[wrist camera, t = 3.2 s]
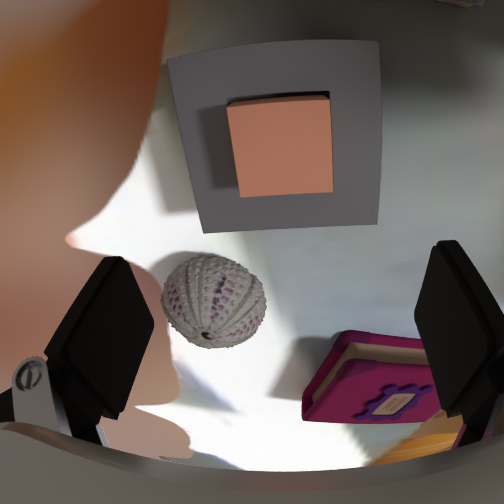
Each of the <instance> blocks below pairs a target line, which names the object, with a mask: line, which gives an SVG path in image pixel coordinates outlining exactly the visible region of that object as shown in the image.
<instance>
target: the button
mask: <svg viewBox="0 0 504 504" xmlns="http://www.w3.org/2000/svg"><path fill="white" fill-rule="evenodd" d="M227 114H228V120H229V127H230V133H231V140H232V146H233V152H234V159H235V165H236V172H237V178H238V184H239V191H240V197H241V198H242V197H255V196H270V195H286V194H304V193H325V192H333V165H332V135H331V115H330V100H329V99H328V98H327V97H326V96H325V95H309V96H290V97H276V98H264V99H254V100H245V101H236V102H232V103H231V104H230V105H229V106H228V107H227Z"/></svg>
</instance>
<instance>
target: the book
mask: <svg viewBox="0 0 504 504" xmlns="http://www.w3.org/2000/svg"><path fill="white" fill-rule="evenodd" d="M441 409H442V408H441V406H440V402H439V398H438V395H437V391H436V387H435V383H434V380H433V376H432V373H431V369H430V366H429V363H428V359H427V356H426V353H425V350H424V347H423V344H422V340H421V339H415V338H406V337H398V336H389V335H381V334H374V333H370V332H363V331H356V330H346V331H344V332H342V333H341V334H340V335H339V337H338V338H337V340H336V342H335V343H334V345H333V348H332V350H331V351H330V353H329V355H328V356H327V358H326V359H325V361H324V362H323V364H322V365H321V367H320V368H319V370H318V371H317V373H316V374H315V376H314V377H313V379H312V380H311V382H310V383H309V385H308V386H307V388H306V389H305V391H304V392H303V396H302V420H303V421H312V422H327V423H352V424H391V423H414V422H426V421H427V420H428V419H429V418H431V417H432V416H433V415H435V414H436V413H437V412H438V411H440V410H441Z"/></svg>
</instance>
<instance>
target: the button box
mask: <svg viewBox="0 0 504 504" xmlns="http://www.w3.org/2000/svg"><path fill="white" fill-rule="evenodd" d="M167 64H168V69H169V75H170V80H171V86H172V91H173V96H174V102H175V107H176V112H177V117H178V122H179V127H180V132H181V137H182V141H183V146H184V151H185V156H186V160H187V165H188V170H189V174H190V179H191V183H192V188H193V192H194V196H195V201H196V205H197V209H198V214H199V218H200V222H201V226H202V230H203V234H204V233H219V232H235V231H252V230H269V229H287V228H307V227H327V226H350V225H375V224H377V220H378V209H379V196H380V180H381V157H382V90H381V69H380V54H379V42H378V41H366V40H337V39H322V40H292V41H277V42H266V43H256V44H248V45H240V46H233V47H226V48H220V49H214V50H208V51H203V52H198V53H193V54H188V55H184V56H179V57H175V58H171V59H167ZM309 95H325V96H326V97H327V98H328V99H329V100H330V115H331V135H332V165H333V192H325V193H304V194H286V195H270V196H255V197H242V198H241V197H240V191H239V184H238V178H237V172H236V165H235V159H234V152H233V146H232V140H231V133H230V127H229V120H228V114H227V107H228V106H229V105H230V104H231V103H232V102H236V101H245V100H254V99H264V98H276V97H290V96H309Z"/></svg>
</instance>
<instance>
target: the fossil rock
mask: <svg viewBox="0 0 504 504" xmlns="http://www.w3.org/2000/svg"><path fill="white" fill-rule="evenodd" d="M436 1H441V2H445V3H449V4H453V5H458V6H460V7H463V8H467V7H470V6H474V5H479V6H483V4H484V3H485V2H486V1H487V0H436Z"/></svg>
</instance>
